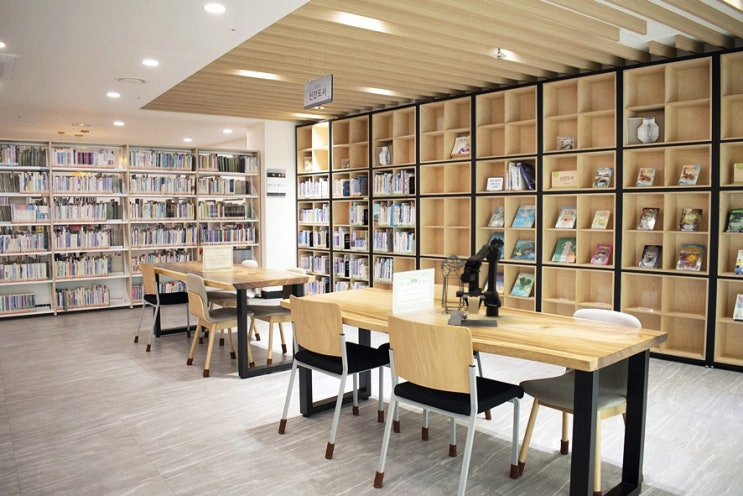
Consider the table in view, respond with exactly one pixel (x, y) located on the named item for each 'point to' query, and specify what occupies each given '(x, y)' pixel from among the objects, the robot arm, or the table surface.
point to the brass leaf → (472, 306)
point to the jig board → (477, 323)
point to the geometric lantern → (453, 278)
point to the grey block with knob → (457, 317)
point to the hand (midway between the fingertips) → (473, 310)
